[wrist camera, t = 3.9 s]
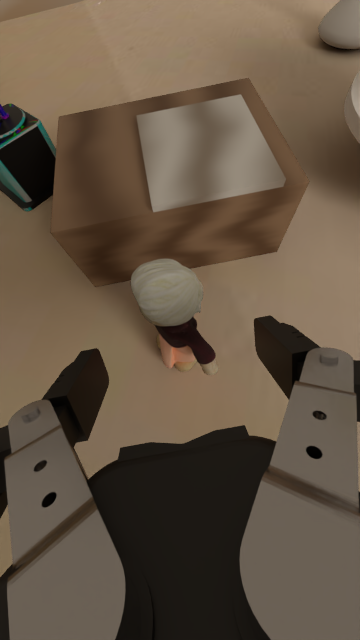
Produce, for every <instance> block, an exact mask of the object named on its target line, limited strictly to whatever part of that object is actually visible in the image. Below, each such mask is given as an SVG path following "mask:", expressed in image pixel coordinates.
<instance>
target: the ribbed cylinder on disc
mask: <svg viewBox="0 0 360 640" xmlns="http://www.w3.org/2000/svg"><path fill="white" fill-rule="evenodd" d="M344 114H345V119H346V122H347V125H348V127H349V129H350V131H351V133H352V134H353V136H354V137H355V138H356V140H357V141H358V142H359V143H360V70H359V72H358V73H357V75H356V77H355V78H354V81H353V83H352V85H351V87H350V89H349V91H348V94H347V96H346V99H345V103H344Z"/></svg>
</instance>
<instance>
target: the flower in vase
mask: <svg viewBox="0 0 360 640" xmlns="http://www.w3.org/2000/svg"><path fill="white" fill-rule="evenodd" d="M318 30H319V36H320V38H321V39H322V40H323V41H324V42H326V43H327V44H329V45H331V46H333V47H337V48H342V49H360V0H341V1H339V2H338V3H337V4H336V5H335V6H334V7H333V8H332V9H331V10H330V11H329V12H328V13H327V14H326V15H325V16H324V18H323V19H322V21H321V23H320V25H319V27H318Z"/></svg>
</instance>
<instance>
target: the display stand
mask: <svg viewBox="0 0 360 640" xmlns="http://www.w3.org/2000/svg"><path fill="white" fill-rule="evenodd" d="M309 182H310V181H309V180H308V178H307V176H306V175H305V173H304V171H303V169H302V168H301V166H300V164H299V163H298V161H297V159H296V158H295V156H294V154H293V153H292V151H291V149H290V147H289V146H288V144H287V142H286V141H285V139H284V137H283V136H282V134H281V132H280V130H279V129H278V127H277V125H276V124H275V122H274V120H273V119H272V117H271V115H270V114H269V112H268V110H267V108H266V107H265V105H264V103H263V102H262V100H261V98H260V97H259V95H258V93H257V92H256V90H255V88H254V86H253V85H252V83H251V81H250V80H249V78H245V79H241V80H236V81H231V82H226V83H221V84H216V85H211V86H206V87H201V88H197V89H192V90H187V91H182V92H177V93H172V94H167V95H162V96H157V97H152V98H148V99H143V100H138V101H133V102H128V103H123V104H118V105H113V106H108V107H104V108H99V109H94V110H89V111H84V112H79V113H74V114H69V115H64V116H60V117H59V120H58V134H57V148H56V162H55V176H54V190H53V204H52V218H51V232H50V233H51V234H52V235H53V237H54V238H55V239H56V240H57V241H58V243H59V244H60V245H61V246H62V247H63V249H64V250H65V251H66V252H67V253H68V255H69V256H70V257H71V258H72V259H73V261H74V262H75V263H76V264H77V265H78V267H79V268H80V269H81V270H82V271H83V273H84V274H85V275H86V276H87V277H88V279H89V280H90V281H91V282H92V284H93V285H94V286H95V287H98V286H103V285H108V284H113V283H118V282H123V281H128V280H131V277H132V274H133V272H134V271H135V270H136V269H137V268H138V267H139V266H140V265H142V264H144V263H147V262H151V261H154V260H157V259H172V260H175V261H177V262H179V263H180V264H181V265H182V266H185V267H187V268H189V269H190V268H195V267H200V266H205V265H210V264H216V263H221V262H226V261H231V260H236V259H241V258H246V257H251V256H257V255H262V254H267V253H272V252H277V250H278V248H279V246H280V244H281V241H282V239H283V237H284V235H285V233H286V231H287V229H288V226H289V224H290V222H291V220H292V218H293V216H294V214H295V211H296V209H297V207H298V205H299V203H300V201H301V199H302V197H303V194H304V192H305V190H306V188H307V186H308V184H309Z"/></svg>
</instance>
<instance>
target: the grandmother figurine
mask: <svg viewBox="0 0 360 640" xmlns="http://www.w3.org/2000/svg"><path fill="white" fill-rule="evenodd" d="M131 288H132V292H133V294H134V297H135V299H136V300H137V302H138V304H139V308H140V311H141V313H142V315H143V316H144V317H145V318H146V319H147V320H148V321H149V322H150V323H152V324H154V325H155V326H156V328H157V330H158V332H159V335H158V336H157V339H156V342H157V345H158V347H159V348H160V349H161V353H162V359H163V362H164V364H165V365H166V366H167V367H168V368H172V367H173V365H174V366H175V367H176V368H177V369H178V370H179V371H182V372H186V371H189V370H190V369H191V368H192V367H193V365H194V364H195V363H196V361H198V363H200V365H201V367H202V369H203V371H204V373H205V374H207V375H214V374H215V373H216V372H217V371H218V365H217V363H216V360H215V352H214V350H213V349H212V347H211V346H210V345H209V344H208V343H207V342H206V341H205V340H204V339H203V337H202V336H201V335H200V333H199V332H198V331H197V329H196V328H197V322H196V320H195V319H194V318H193V316H194V314H195V313H197V312H199V313H200V312H201V311H200V309H201V301H202V299H203V286H202V283H201V282H200V281H199V280H198V278H197V276H196V274H195V273H194V272H193V271H192V270H190V269H189V268H187V267H185V266H182V265H181V264H180V263H179V262H177V261H175V260H172V259H157V260H154V261H151V262H147V263H144V264H142V265H140V266H139V267H138V268H137V269H136V270H135V271H134V272H133V274H132V277H131Z"/></svg>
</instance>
